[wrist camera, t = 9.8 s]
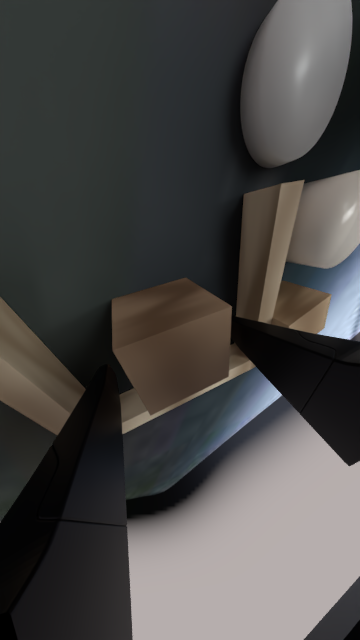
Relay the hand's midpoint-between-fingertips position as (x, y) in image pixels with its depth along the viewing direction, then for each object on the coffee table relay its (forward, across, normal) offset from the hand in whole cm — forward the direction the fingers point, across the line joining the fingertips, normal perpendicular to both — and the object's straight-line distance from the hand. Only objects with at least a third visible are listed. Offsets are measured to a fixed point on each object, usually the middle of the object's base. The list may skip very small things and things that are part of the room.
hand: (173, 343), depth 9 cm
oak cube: (+3, -11, +3) cm, 12 cm away
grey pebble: (+3, -9, -10) cm, 14 cm away
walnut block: (+3, 0, 0) cm, 3 cm away
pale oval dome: (+3, -12, -4) cm, 13 cm away
